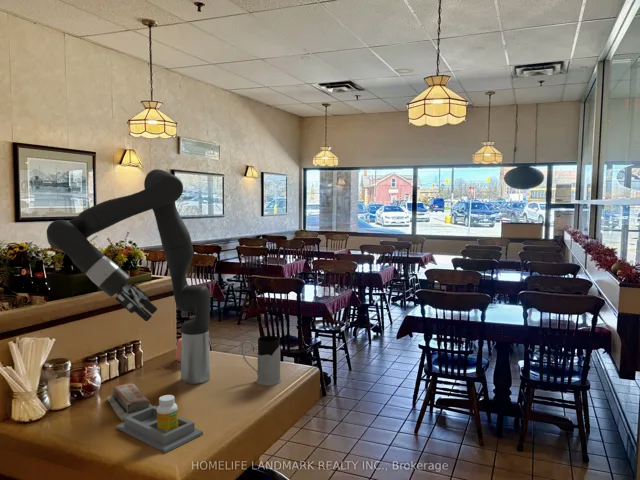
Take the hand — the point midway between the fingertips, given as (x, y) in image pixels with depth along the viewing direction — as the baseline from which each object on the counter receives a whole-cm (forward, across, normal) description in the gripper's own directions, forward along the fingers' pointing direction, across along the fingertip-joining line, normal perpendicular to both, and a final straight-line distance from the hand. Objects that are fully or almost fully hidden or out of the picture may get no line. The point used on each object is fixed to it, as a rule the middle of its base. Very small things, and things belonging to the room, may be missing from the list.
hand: (152, 315), depth 140 cm
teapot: (+25, +50, +18) cm, 59 cm away
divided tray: (+23, -8, +20) cm, 32 cm away
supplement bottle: (+25, -11, +18) cm, 32 cm away
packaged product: (+16, +10, +29) cm, 34 cm away
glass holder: (+44, +26, 0) cm, 51 cm away
